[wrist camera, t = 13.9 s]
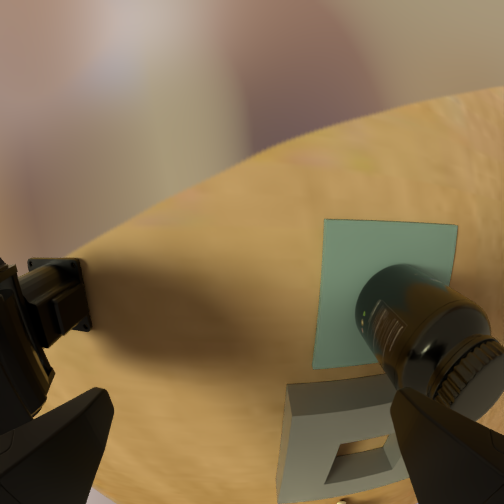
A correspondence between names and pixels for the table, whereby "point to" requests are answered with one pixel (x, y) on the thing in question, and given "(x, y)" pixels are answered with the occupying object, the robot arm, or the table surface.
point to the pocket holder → (336, 439)
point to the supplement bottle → (431, 339)
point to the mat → (369, 276)
